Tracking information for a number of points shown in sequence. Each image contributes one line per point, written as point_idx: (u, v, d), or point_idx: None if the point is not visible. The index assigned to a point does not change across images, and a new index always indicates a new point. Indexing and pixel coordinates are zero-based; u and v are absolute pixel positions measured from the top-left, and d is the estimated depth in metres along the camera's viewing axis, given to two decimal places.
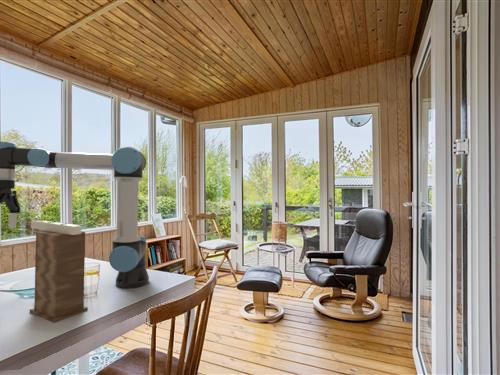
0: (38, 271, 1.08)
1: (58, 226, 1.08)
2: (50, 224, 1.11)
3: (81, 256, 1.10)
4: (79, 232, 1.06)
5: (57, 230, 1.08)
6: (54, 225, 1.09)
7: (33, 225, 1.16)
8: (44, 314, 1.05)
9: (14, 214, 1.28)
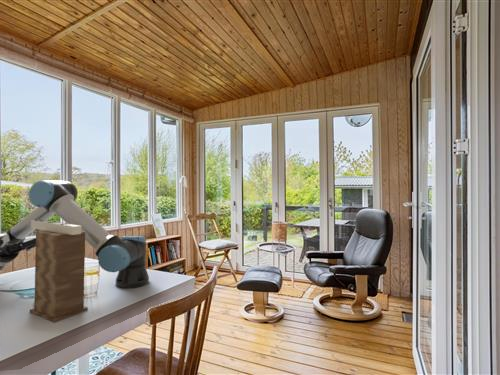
0: (38, 271, 1.08)
1: (58, 226, 1.08)
2: (50, 224, 1.11)
3: (81, 256, 1.10)
4: (79, 232, 1.06)
5: (57, 230, 1.08)
6: (54, 225, 1.09)
7: (33, 225, 1.16)
8: (44, 314, 1.05)
9: None
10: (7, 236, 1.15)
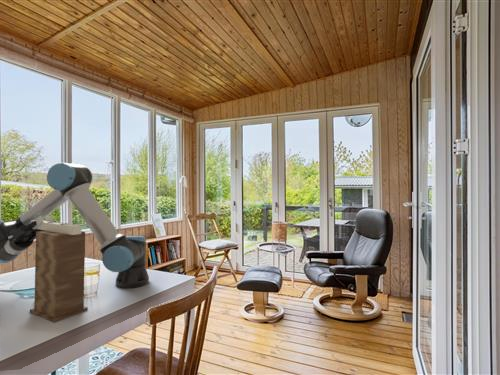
0: (38, 271, 1.08)
1: (58, 226, 1.08)
2: (50, 224, 1.11)
3: (81, 256, 1.10)
4: (79, 232, 1.06)
5: (57, 230, 1.08)
6: (54, 225, 1.09)
7: None
8: (44, 314, 1.05)
9: None
10: (41, 217, 1.13)
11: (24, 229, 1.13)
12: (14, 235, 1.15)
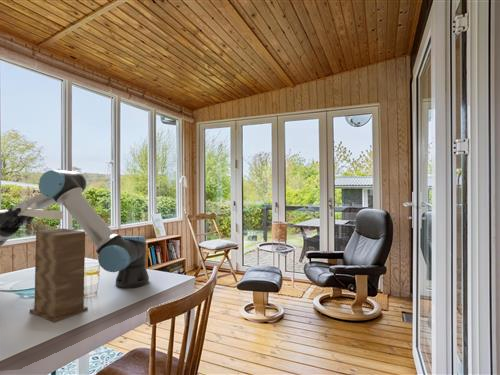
0: (38, 271, 1.08)
1: (41, 212, 1.14)
2: (33, 210, 1.16)
3: (81, 256, 1.10)
4: (60, 217, 1.12)
5: (40, 216, 1.14)
6: (37, 211, 1.15)
7: None
8: (44, 314, 1.05)
9: None
10: (25, 204, 1.18)
11: (9, 215, 1.18)
12: (0, 221, 1.20)
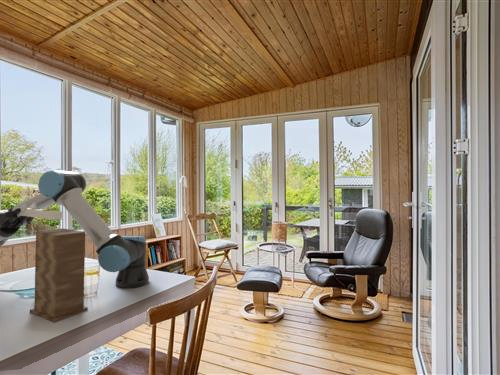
0: (38, 271, 1.08)
1: (40, 212, 1.14)
2: (33, 210, 1.16)
3: (81, 256, 1.10)
4: (60, 217, 1.12)
5: (39, 216, 1.14)
6: (37, 211, 1.15)
7: None
8: (44, 314, 1.05)
9: None
10: (24, 204, 1.18)
11: (9, 215, 1.19)
12: None
